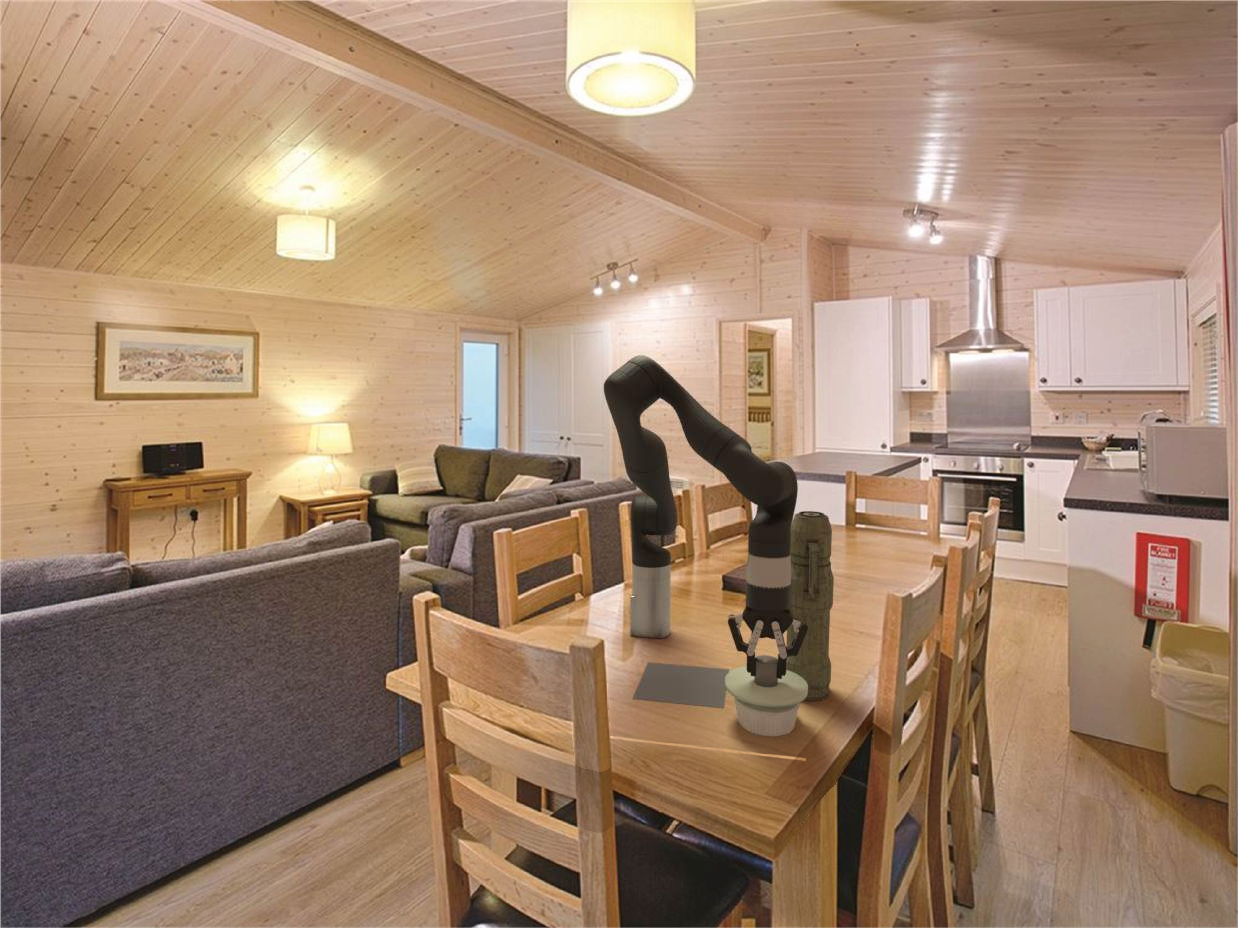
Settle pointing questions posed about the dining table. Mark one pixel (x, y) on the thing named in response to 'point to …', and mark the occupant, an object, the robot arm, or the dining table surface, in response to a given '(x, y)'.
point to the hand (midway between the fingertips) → (766, 675)
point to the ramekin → (766, 718)
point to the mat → (682, 685)
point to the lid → (766, 684)
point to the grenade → (811, 600)
